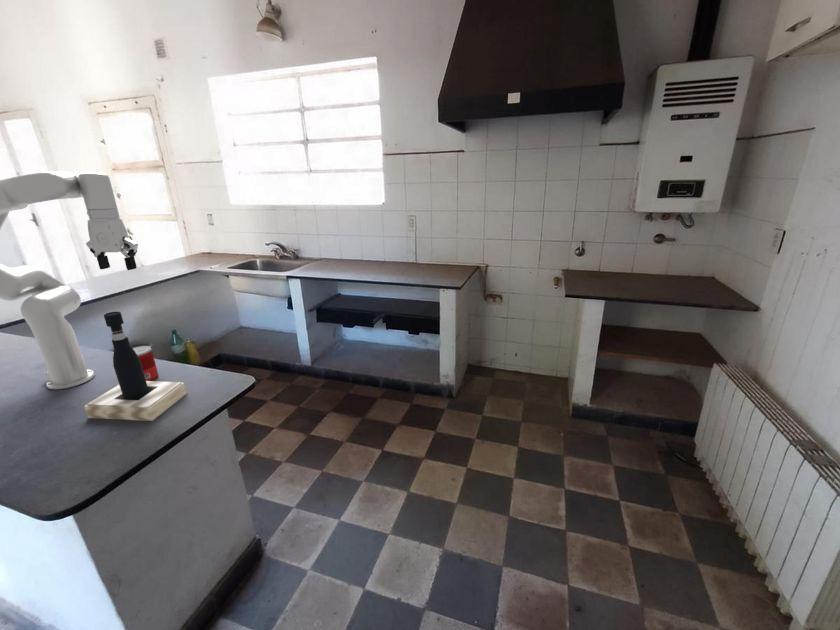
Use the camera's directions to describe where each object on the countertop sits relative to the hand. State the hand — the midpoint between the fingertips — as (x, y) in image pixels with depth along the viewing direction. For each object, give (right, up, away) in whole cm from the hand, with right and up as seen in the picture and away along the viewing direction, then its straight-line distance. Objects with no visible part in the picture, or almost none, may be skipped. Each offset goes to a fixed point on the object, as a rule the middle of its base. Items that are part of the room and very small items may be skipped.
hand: (118, 268), depth 125 cm
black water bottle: (+12, -43, -6) cm, 45 cm away
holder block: (+12, -43, -7) cm, 45 cm away
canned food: (+2, -38, +9) cm, 39 cm away
